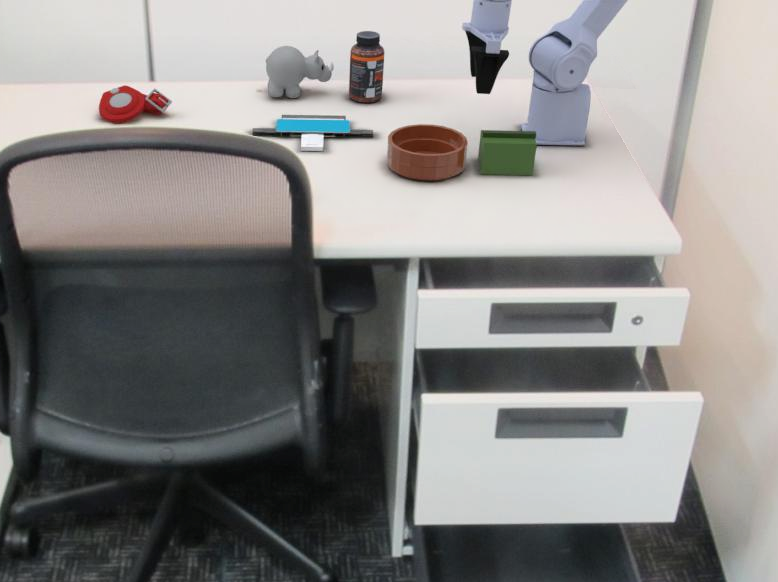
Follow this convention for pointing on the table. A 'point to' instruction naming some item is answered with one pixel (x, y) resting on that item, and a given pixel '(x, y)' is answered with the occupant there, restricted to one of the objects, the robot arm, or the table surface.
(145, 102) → the tracker holder
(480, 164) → the green block
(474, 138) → the table surface
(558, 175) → the table surface
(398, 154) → the bowl
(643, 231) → the table surface
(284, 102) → the table surface
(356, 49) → the supplement bottle
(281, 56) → the round bodied animal figurine
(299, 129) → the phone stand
